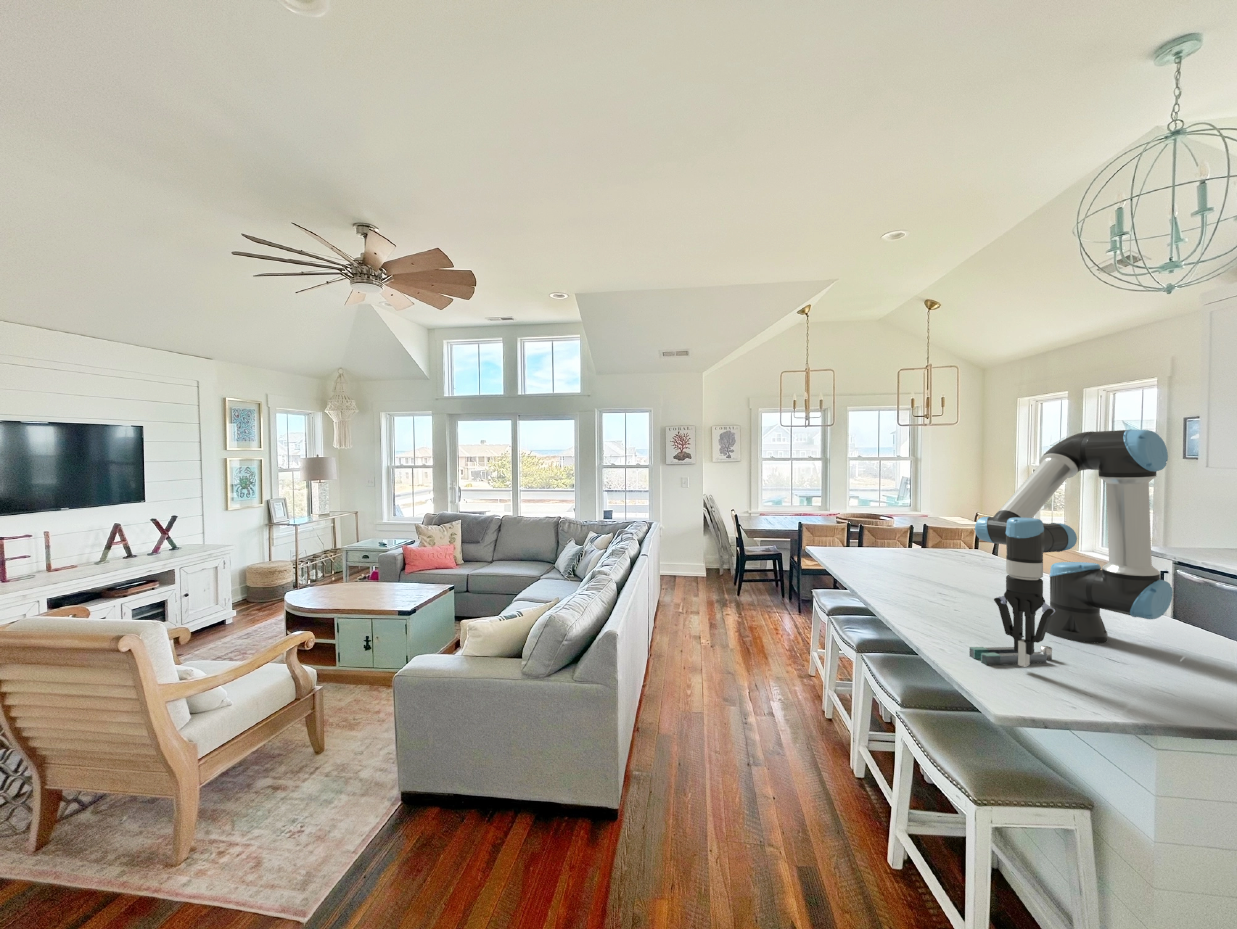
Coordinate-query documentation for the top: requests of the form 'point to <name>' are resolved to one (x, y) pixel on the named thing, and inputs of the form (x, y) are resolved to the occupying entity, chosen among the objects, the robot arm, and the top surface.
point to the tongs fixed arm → (1003, 651)
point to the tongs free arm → (1010, 658)
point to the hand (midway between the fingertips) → (1023, 664)
